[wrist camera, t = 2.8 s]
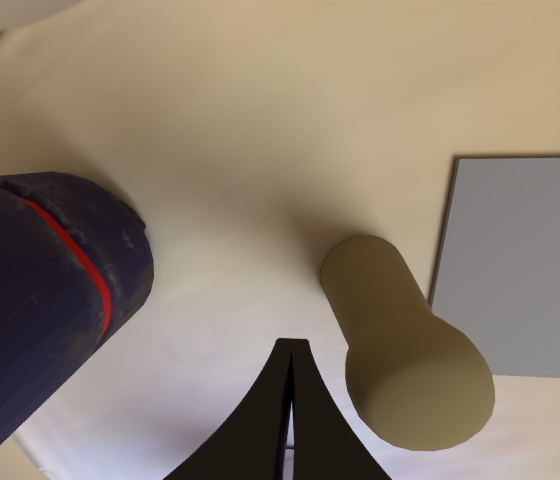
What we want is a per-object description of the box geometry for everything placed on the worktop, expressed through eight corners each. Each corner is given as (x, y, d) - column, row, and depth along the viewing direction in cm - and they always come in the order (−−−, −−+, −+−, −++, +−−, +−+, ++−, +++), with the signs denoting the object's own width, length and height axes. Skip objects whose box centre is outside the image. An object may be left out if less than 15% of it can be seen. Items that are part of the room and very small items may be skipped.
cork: (315, 306, 20) (329, 467, 10) (326, 230, 18) (358, 333, 8) (395, 315, 20) (495, 491, 10) (415, 240, 18) (566, 358, 8)
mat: (579, 374, 20) (585, 379, 20) (417, 367, 21) (419, 371, 21) (673, 156, 15) (682, 156, 15) (456, 158, 16) (459, 159, 16)
